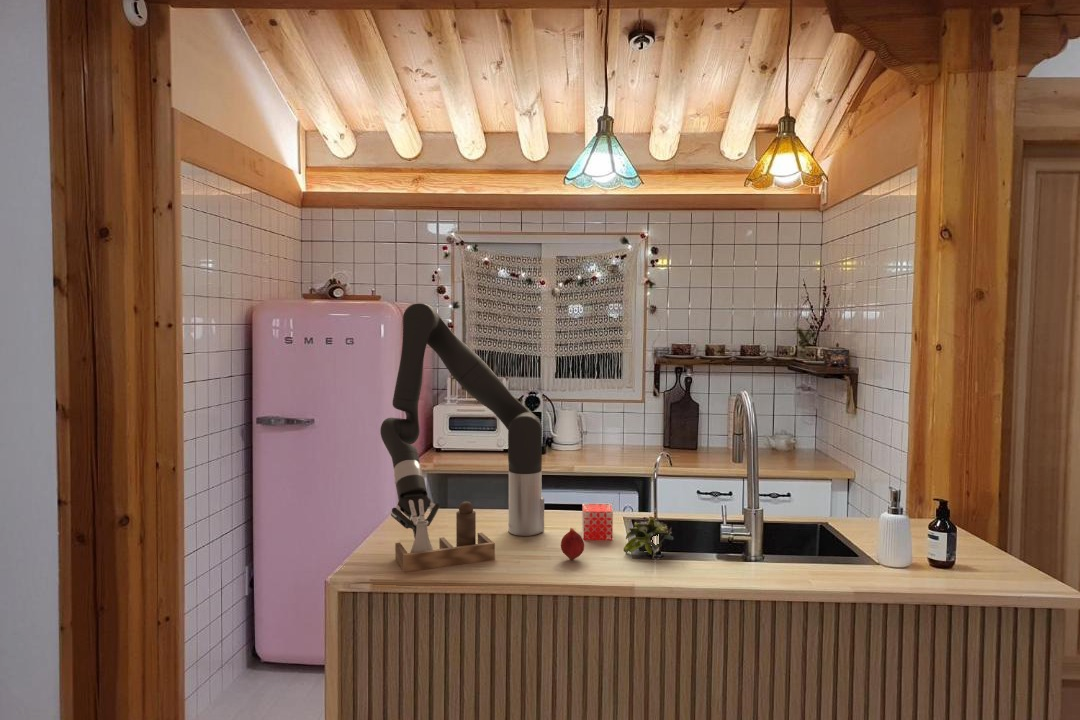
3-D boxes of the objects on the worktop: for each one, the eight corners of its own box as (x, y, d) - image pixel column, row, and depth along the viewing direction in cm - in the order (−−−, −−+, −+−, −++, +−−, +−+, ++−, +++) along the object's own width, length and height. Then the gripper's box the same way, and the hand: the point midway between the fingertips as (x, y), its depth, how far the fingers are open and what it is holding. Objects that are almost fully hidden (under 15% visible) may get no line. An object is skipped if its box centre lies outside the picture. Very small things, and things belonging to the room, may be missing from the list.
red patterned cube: (612, 540, 188) (612, 511, 188) (583, 540, 189) (583, 511, 188) (610, 531, 196) (610, 503, 196) (582, 531, 197) (582, 503, 196)
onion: (587, 557, 174) (587, 526, 174) (578, 565, 169) (579, 532, 168) (566, 554, 177) (566, 523, 176) (557, 561, 171) (557, 529, 171)
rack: (482, 547, 182) (482, 532, 181) (494, 559, 173) (494, 543, 173) (395, 559, 173) (395, 543, 172) (404, 572, 164) (404, 555, 164)
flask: (438, 557, 174) (438, 517, 174) (435, 567, 167) (434, 526, 167) (409, 557, 174) (409, 517, 174) (404, 567, 167) (404, 526, 166)
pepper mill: (472, 551, 179) (472, 498, 178) (478, 557, 174) (478, 502, 173) (454, 553, 177) (453, 500, 176) (459, 559, 172) (459, 504, 172)
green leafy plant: (650, 570, 181) (674, 530, 183) (659, 577, 170) (685, 535, 172) (614, 545, 182) (639, 506, 183) (621, 550, 171) (647, 509, 172)
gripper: (386, 475, 178) (397, 536, 168) (437, 471, 184) (450, 530, 173) (382, 491, 183) (392, 551, 173) (431, 486, 189) (444, 544, 178)
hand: (421, 540), depth 173 cm, fingers closed
